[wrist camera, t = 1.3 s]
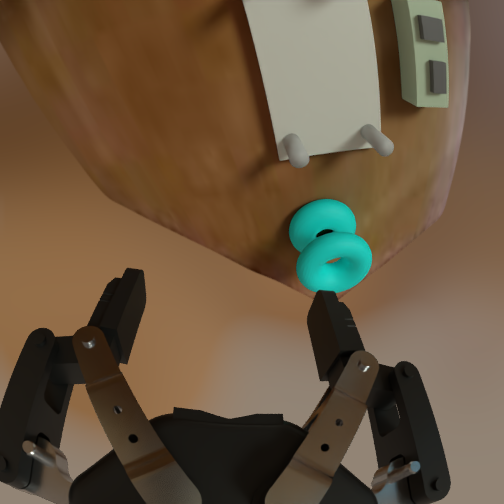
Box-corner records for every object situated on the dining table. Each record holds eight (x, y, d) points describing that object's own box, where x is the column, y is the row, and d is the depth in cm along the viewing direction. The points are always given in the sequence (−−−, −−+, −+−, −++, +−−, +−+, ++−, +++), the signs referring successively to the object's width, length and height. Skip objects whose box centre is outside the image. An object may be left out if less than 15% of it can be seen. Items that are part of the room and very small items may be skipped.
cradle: (233, -29, 16) (231, -46, 12) (352, -36, 15) (377, -47, 10) (278, 155, 33) (285, 181, 28) (376, 142, 31) (398, 164, 26)
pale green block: (388, -4, 17) (409, -7, 14) (422, 2, 17) (445, 2, 13) (400, 97, 27) (420, 108, 23) (430, 98, 26) (451, 109, 23)
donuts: (386, 245, 30) (359, 297, 37) (360, 198, 37) (342, 248, 44) (307, 242, 29) (291, 298, 36) (293, 192, 37) (283, 246, 43)
